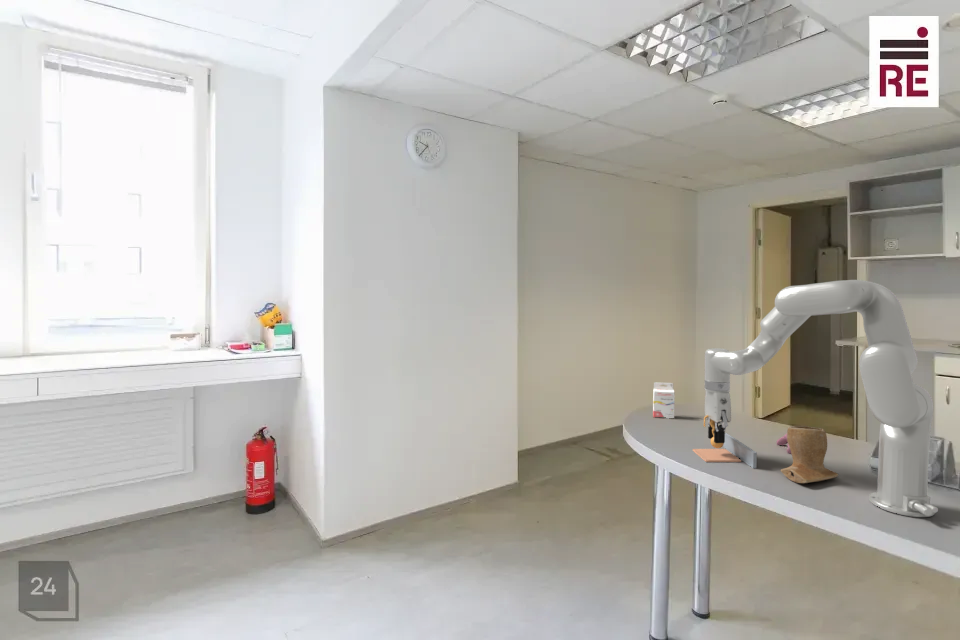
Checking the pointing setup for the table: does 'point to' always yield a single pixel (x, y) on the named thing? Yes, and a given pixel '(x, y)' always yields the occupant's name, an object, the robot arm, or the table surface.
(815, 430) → the stone cup
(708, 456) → the board
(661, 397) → the ink cartridge box
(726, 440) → the low wall
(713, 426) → the figurine
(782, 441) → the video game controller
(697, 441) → the table surface
